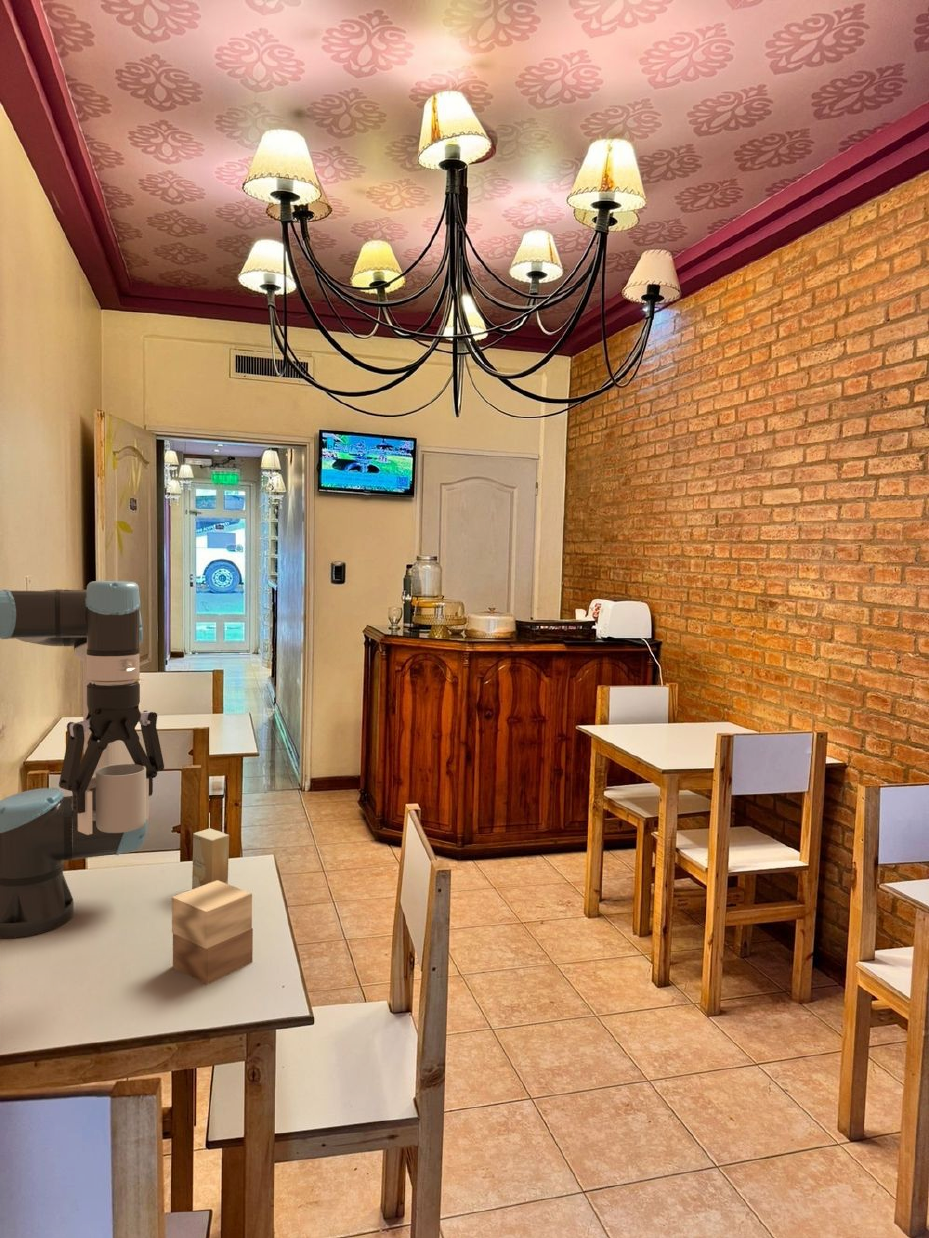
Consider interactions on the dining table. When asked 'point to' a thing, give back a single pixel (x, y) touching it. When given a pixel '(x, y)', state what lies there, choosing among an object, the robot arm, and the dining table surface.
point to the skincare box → (210, 857)
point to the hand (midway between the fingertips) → (114, 824)
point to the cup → (119, 798)
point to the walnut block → (213, 956)
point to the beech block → (211, 913)
